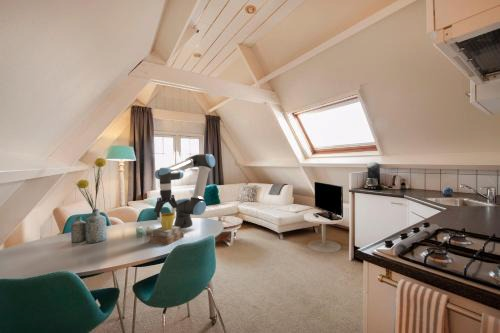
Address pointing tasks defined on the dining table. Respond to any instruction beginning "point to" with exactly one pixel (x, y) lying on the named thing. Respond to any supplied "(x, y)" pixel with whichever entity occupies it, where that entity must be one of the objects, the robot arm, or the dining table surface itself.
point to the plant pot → (167, 220)
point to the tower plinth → (166, 240)
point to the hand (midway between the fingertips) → (166, 219)
